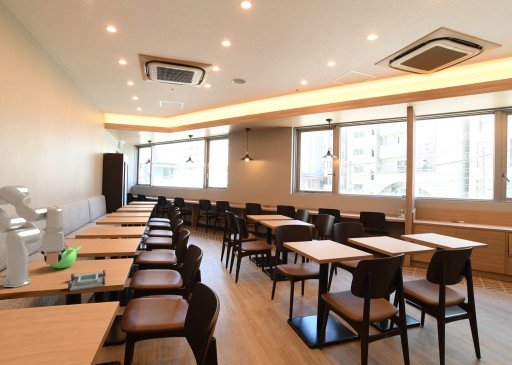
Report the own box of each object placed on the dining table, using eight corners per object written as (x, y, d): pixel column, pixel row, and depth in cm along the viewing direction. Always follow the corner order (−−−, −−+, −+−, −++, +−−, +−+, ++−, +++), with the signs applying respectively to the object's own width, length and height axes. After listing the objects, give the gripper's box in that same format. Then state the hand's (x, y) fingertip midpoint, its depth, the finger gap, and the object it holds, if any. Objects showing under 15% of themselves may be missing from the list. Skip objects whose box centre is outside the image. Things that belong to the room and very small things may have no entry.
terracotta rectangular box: (46, 264, 151) (46, 253, 151) (48, 261, 157) (49, 250, 157) (57, 263, 153) (57, 253, 153) (59, 260, 160) (59, 250, 160)
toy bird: (54, 264, 196) (54, 243, 196) (81, 262, 201) (81, 242, 201) (43, 272, 179) (43, 250, 179) (73, 270, 184) (73, 248, 184)
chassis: (67, 291, 150) (67, 283, 150) (72, 278, 169) (72, 271, 168) (104, 286, 159) (105, 278, 158) (105, 274, 177) (105, 268, 177)
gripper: (33, 232, 148) (32, 265, 148) (71, 230, 156) (70, 262, 156) (36, 229, 155) (35, 261, 155) (72, 228, 163) (71, 258, 163)
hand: (53, 261), depth 155 cm, fingers closed on terracotta rectangular box, 5 cm apart
